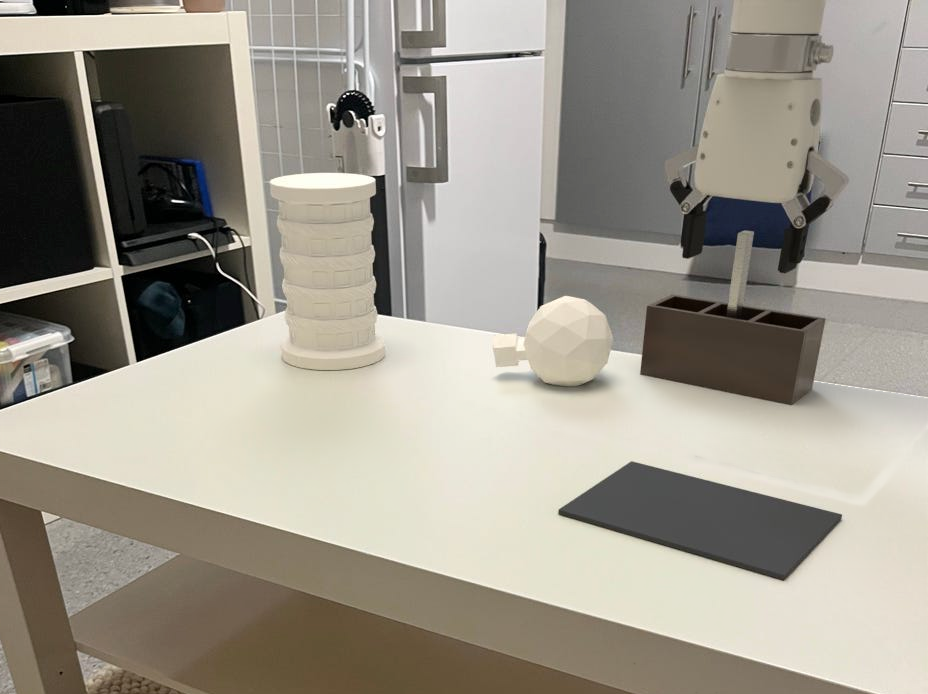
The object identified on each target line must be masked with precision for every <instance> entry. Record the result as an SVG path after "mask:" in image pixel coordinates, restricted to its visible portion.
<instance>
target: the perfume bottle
mask: <svg viewBox="0 0 928 694" xmlns="http://www.w3.org/2000/svg"><path fill="white" fill-rule="evenodd" d="M613 342H614V336H613V332H612V330H611V328H610V324H609V321H608V319H607V316H606V314H605V313H604V312H602V311H601V310H600V309H598V308H597V307H596V306H595V305H594V304H592V303H591V302H589V301H588V300H587V299H584V298H579V297H576V296H575V297H574V296H569V295H563V296H561V297H559V298H556V299H554V300H552V301H549V302H547V303H545V304H543V305H540V306H539V308H538V310H537V311H536V312H535V314H534V315H533V317H532V318H531V319H530V321H529V323H528V326H527V329H526V332H525V336H524V337H519V336H518V333H517V332H516V333H505V334H504V333H503V334H495V335H494V338H493V346H492V349H493V356H494V363H495V368H503V367H504V368H505V367H517V366H519V362H520V361H528V364H529V367H530V369H531V370H532V372H533V373H535V375H536V376H537V377H538V378H540V379H541V380H542V381H543V382H544V383H546V384H549V385H552V386H558V387H559V386H560V387H579V386H581V385H583V384H585V383H587V382H590V381H592V380H594V379H595V378H596V377H597V376H598V375H599V373H601V371H602V370H603V369H604V368H605V367H606V365H607V364H608V361H609V357H610V354H611V351H612V348H613Z"/></svg>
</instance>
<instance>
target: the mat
mask: <svg viewBox="0 0 928 694" xmlns="http://www.w3.org/2000/svg"><path fill="white" fill-rule="evenodd" d="M557 512H558V515H560V516H564V517H568V518H571V519H574V520H576V521H577V520H578V521H581V522H584V523H588V524H591V525H595V526H597V527H602V528H604V529H608V530H612V531H615V532H618V533H622V534H625V535H629V536H632V537H636V538H639V539H643V540H646V541H649V542H653V543H655V544H659V545H663V546H667V547H669V548H673V549H676V550H679V551H683V552H686V553H690V554H693V555H697V556H700V557H704V558H707V559H709V560H710V559H711V560H714V561H717V562H720V563H724V564H727V565H730V566H734V567H738V568H740V569H745V570H748V571H751V572H754V573H757V574H761V575H766V576H768V577H772V578H775V579H778V580H781V581H785V580H786V578H788V576H789V575H790V574H791V573H793V571H794V570H795V569H796V568H797V567H798V566H799V565H800V564H801V563H802V562H803V560H805V558H806V557H807V556H808V555H809V554H810V553H811V552H812V551H813V550H814V549H815V548H816V547H817V546H818V545H819V543H820V542H821V541H823V540H824V538H825V537H826V536H827V535H828V534H829V533H830V532H831V530H833V528H834V527H835V526H837V524H838V523H839V522H840V521H842V519H843V518H842V517H843V514H842V513H838V512H835V511H831V510H830V511H829V510H827V509H822V508H818V507H815V506H811V505H808V504H807V505H806V504H802V503H798V502H796V501H795V502H794V501H790V500H787V499H783V498H779V497H776V496H771V495H767V494H763V493H760V492H755V491H751V490H749V489H748V490H747V489H742V488H739V487H735V486H731V485H728V484H723V483H720V482H715V481H712V480H708V479H704V478H701V477H695V476H693V475H688V474H684V473H680V472H676V471H673V470H669V469H664V468H661V467H656V466H653V465H648V464H644V463H640V462H636V461H633V460H632V461H631V460H630V462H628V463H627V464H625V465H623V466H622V467H620V468H619V469H617V470H616V471H614V472H613V473H611V474H610V475H608V476H606V477H605V478H604V479H602V480H601V481H599V482H598V483H596V484H595V485H594V486H592V487H590V488H589V489H587V490H586V491H584V492H583V493H581V494H580V495H578V496H577V497H575V498H574V499H572V500H570V501H568V503H565V505H563V506H561V507H560V508H559V509H558V511H557Z"/></svg>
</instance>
